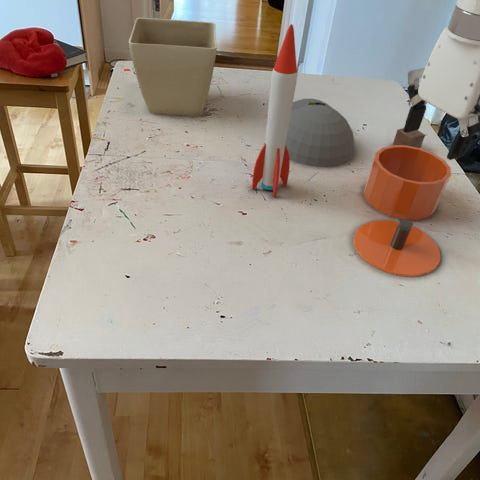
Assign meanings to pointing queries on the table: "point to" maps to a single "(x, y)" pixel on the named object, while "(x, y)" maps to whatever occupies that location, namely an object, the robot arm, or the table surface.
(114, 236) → the table surface
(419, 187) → the pot
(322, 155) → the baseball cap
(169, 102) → the flower pot
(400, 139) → the block
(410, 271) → the lid
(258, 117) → the table surface
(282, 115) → the toy rocket
